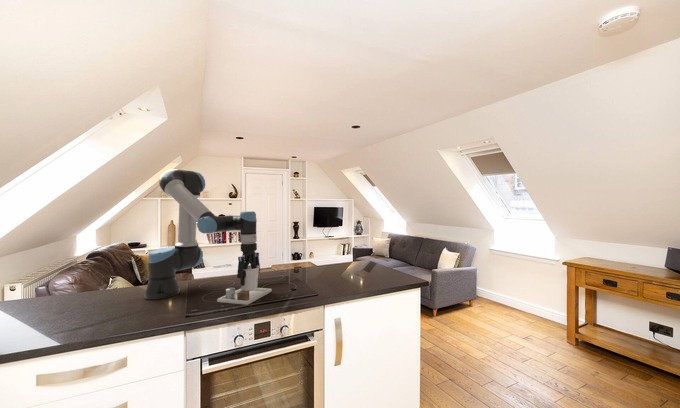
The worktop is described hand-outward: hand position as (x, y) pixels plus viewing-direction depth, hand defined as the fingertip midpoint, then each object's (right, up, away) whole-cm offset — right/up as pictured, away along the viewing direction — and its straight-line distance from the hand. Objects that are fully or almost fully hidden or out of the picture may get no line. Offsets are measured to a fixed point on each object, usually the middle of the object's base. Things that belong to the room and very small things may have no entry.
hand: (249, 289), depth 138 cm
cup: (0, 0, 0) cm, 0 cm away
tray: (-1, -4, -3) cm, 5 cm away
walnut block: (0, -2, -10) cm, 10 cm away
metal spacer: (-6, -3, -7) cm, 10 cm away
